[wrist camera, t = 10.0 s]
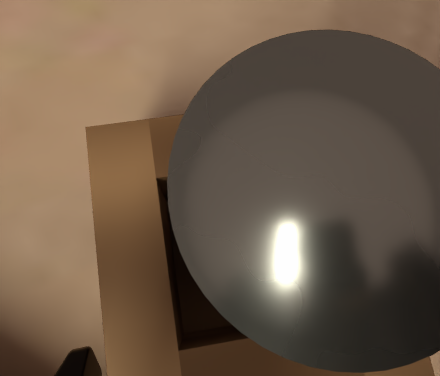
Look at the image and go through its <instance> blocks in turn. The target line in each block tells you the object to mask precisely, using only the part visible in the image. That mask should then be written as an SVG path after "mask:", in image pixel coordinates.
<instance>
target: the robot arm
mask: <svg viewBox="0 0 440 376" xmlns="http://www.w3.org/2000/svg"><path fill="white" fill-rule="evenodd" d="M55 376H102V372H101V368H100V366H99V363H98V361H97V359H96V357H95V354H94V352H93V350H92V348H91V347H89V346H88V347H82V348H77V349H74V350H72V351H70V353H69V354H68V355H67V357H66V358H65V360H64V361H63V363H62V365H61V366H60V368H59V369H58V371H57V372H56V374H55Z"/></svg>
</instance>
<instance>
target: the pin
mask: <svg viewBox="0 0 440 376" xmlns="http://www.w3.org/2000/svg"><path fill="white" fill-rule="evenodd" d="M167 191H168V207H169V213H170V218H171V224H172V229H173V232H174V235H175V238H176V241H177V244H178V247H179V250H180V253H181V255H182V257H183V259H184V261H185V263H186V266H187V268H188V270H189V272H190V274H191V276H192V277H193V279H194V280H195V282H196V283H197V285H198V286H199V288H200V289H201V291H202V292H203V294H204V295H205V297H206V298H207V299H208V300H209V301H210V302H211V304H212V305H213V306H214V307H215V308H216V309H217V311H218V312H219V313H220V314H221V315H222V316H223V317H224V318H225V319H226V320H228V321H229V322H230V323H231V324H232V325H233V326H234V327H235V328H236V329H238V330H239V331H240V332H241V333H242V334H244V335H245V336H247V337H248V338H250V339H251V340H253V341H254V342H256V343H257V344H259V345H260V346H262V347H263V348H265V349H267V350H269V351H271V352H273V353H275V354H277V355H279V356H281V357H283V358H285V359H288V360H291V361H294V362H297V363H300V364H303V365H306V366H309V367H313V368H318V369H323V370H329V371H334V372H350V373H366V372H376V371H386V370H390V369H394V368H398V367H402V366H406V365H410V364H412V363H415V362H417V361H419V360H422V359H424V358H426V357H429V356H431V355H433V354H435V353H436V352H438V351H440V69H438V68H437V67H436V66H434V65H433V64H432V63H430V62H429V61H427V60H426V59H424V58H422V57H420V56H419V55H417V54H415V53H413V52H412V51H410V50H408V49H406V48H404V47H401V46H399V45H397V44H394V43H392V42H390V41H387V40H383V39H380V38H377V37H374V36H371V35H366V34H361V33H356V32H350V31H339V30H309V31H302V32H296V33H290V34H286V35H282V36H279V37H275V38H272V39H269V40H267V41H264V42H262V43H260V44H257V45H255V46H253V47H250V48H249V49H247V50H245V51H244V52H242V53H240V54H239V55H237V56H235V57H234V58H232V59H231V60H230V61H228V62H227V63H226V64H225V65H223V66H222V67H221V68H220V69H218V70H217V71H216V72H215V73H214V74H213V75H212V76H211V77H210V78H209V79H208V80H207V81H206V82H205V84H204V85H203V86H202V87H201V89H200V90H199V91H198V93H197V94H196V95H195V97H194V98H193V99H192V101H191V103H190V105H189V106H188V108H187V110H186V112H185V114H184V116H183V117H182V119H181V122H180V124H179V127H178V130H177V132H176V135H175V138H174V141H173V145H172V150H171V154H170V158H169V167H168V178H167Z"/></svg>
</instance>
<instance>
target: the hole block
mask: <svg viewBox="0 0 440 376" xmlns="http://www.w3.org/2000/svg"><path fill="white" fill-rule="evenodd" d="M183 116H184V114H183V115H176V116H168V117H160V118H152V119H145V120H137V121H129V122H122V123H114V124H106V125H99V126H91V127H86V138H87V149H88V161H89V172H90V184H91V195H92V206H93V218H94V229H95V241H96V252H97V263H98V275H99V286H100V298H101V309H102V320H103V332H104V343H105V355H106V366H107V376H435V375H434V371H433V368H432V364H431V360H430V357H426V358H424V359H422V360H419V361H417V362H415V363H412V364H410V365H406V366H402V367H398V368H394V369H390V370H386V371H376V372H366V373H350V372H334V371H329V370H323V369H318V368H313V367H309V366H306V365H303V364H300V363H297V362H294V361H291V360H288V359H285V358H283V357H281V356H279V355H277V354H275V353H273V352H271V351H269V350H267V349H265V348H263V347H262V346H260V345H259V344H257V343H256V342H254V341H253V340H251V339H250V338H248V337H247V336H245V335H244V334H242V333H241V332H240V331H239V330H238V329H236V328H235V327H234V326H233V325H232V324H231V323H230V322H229V321H228V320H226V319H225V318H224V317H223V316H222V315H221V314H220V313H219V312H218V311H217V309H216V308H215V307H214V306H213V305H212V304H211V302H210V301H209V300H208V299H207V298H206V297H205V295H204V294H203V292H202V291H201V289H200V288H199V286H198V285H197V283H196V282H195V280H194V279H193V277H192V276H191V274H190V272H189V270H188V268H187V266H186V263H185V261H184V259H183V257H182V255H181V253H180V250H179V247H178V244H177V241H176V238H175V235H174V232H173V229H172V224H171V218H170V213H169V207H168V191H167V178H168V167H169V158H170V154H171V150H172V145H173V141H174V138H175V135H176V132H177V130H178V127H179V124H180V122H181V119H182V117H183Z"/></svg>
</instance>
